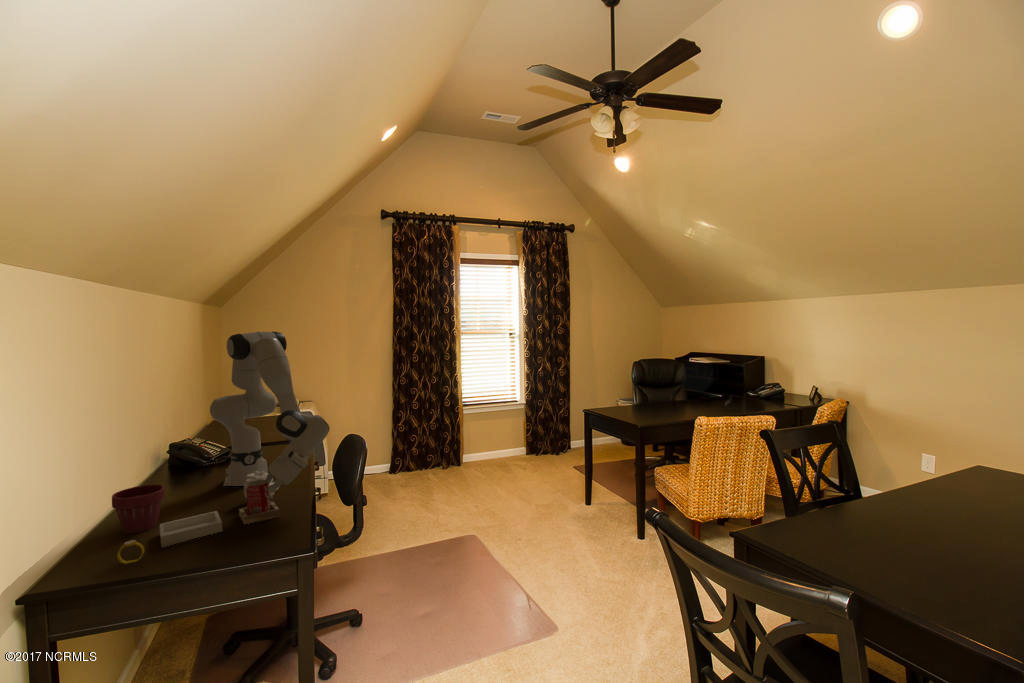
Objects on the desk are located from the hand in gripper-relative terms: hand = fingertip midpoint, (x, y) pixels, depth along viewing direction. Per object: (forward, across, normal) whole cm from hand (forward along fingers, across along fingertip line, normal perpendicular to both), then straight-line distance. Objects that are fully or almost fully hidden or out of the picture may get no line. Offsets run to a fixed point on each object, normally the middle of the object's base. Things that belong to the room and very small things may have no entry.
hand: (266, 488), depth 167 cm
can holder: (+8, 0, +5) cm, 10 cm away
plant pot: (+32, -18, -19) cm, 41 cm away
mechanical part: (+6, -17, +8) cm, 20 cm away
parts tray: (+23, 0, -10) cm, 25 cm away
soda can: (+9, 0, +5) cm, 10 cm away
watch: (+34, +12, -20) cm, 41 cm away
